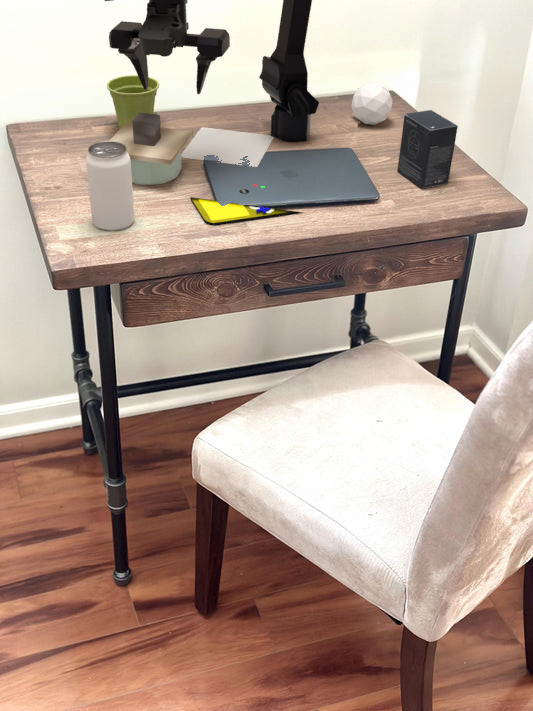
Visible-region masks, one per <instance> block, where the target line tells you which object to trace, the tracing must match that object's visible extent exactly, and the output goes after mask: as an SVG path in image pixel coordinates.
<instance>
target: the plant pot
mask: <svg viewBox="0 0 533 711" xmlns="http://www.w3.org/2000/svg"><path fill="white" fill-rule="evenodd" d="M159 88H160V83H159V81H158V80H157V79H156V78H154V77H151V76H148V88H147V89H144V88H143V86H142V83H141V81H140V79H139V77H138V74H136V75H135V74H133V75H123V76H119V77H118V76H117V77H116V78H112V79H111V80H109V81H108V82H107V83H106V89H107V90H108V91H109V93H110V97H111V98H112V101H113V102H112V103H113V106H114V110H115V116H116V120H117V124H118V130H120V129H121V128H122V127H123V126H124V124H125V123H128V124H133V123H132V120H133V119H134V118H135V117H136V116H137V115H138V114H139V113H148V114H154V113H155V112H154V111H155V103H156V102H155V101H156V96H157V91H158V89H159Z"/></svg>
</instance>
